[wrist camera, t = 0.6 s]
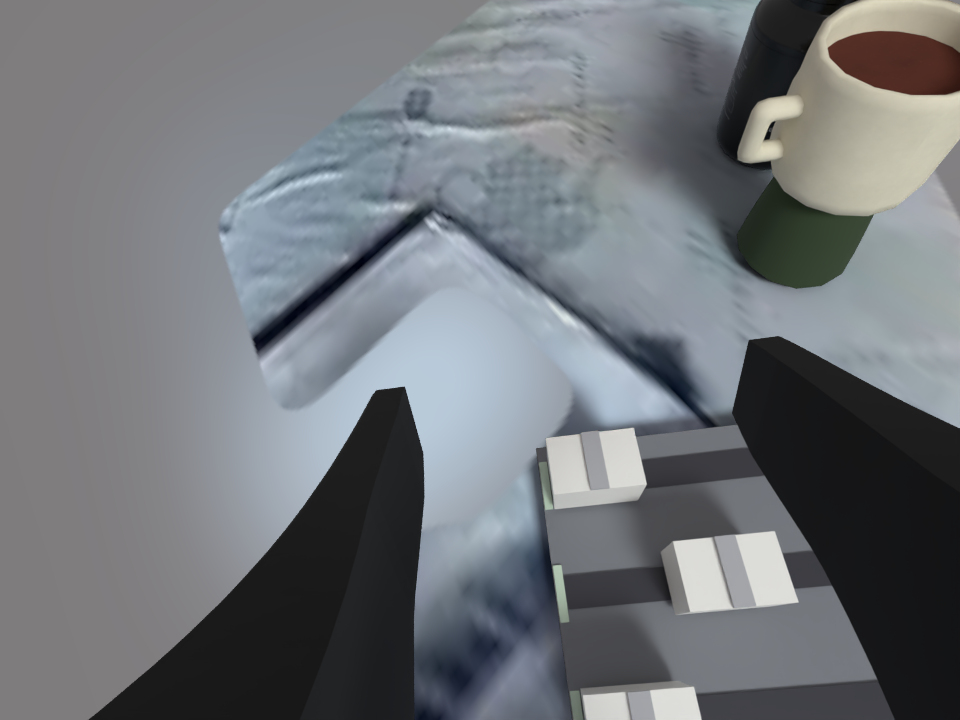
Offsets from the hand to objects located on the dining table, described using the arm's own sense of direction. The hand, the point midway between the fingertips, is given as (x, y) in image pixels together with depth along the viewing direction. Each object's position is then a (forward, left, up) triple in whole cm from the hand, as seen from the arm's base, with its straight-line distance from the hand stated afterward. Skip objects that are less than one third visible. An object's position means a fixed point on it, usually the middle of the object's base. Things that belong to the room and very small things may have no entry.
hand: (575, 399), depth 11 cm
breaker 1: (+2, -2, -16) cm, 16 cm away
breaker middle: (-3, -6, -16) cm, 17 cm away
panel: (-3, -6, -17) cm, 18 cm away
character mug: (+15, -16, -17) cm, 28 cm away
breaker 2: (-8, -2, -16) cm, 17 cm away
